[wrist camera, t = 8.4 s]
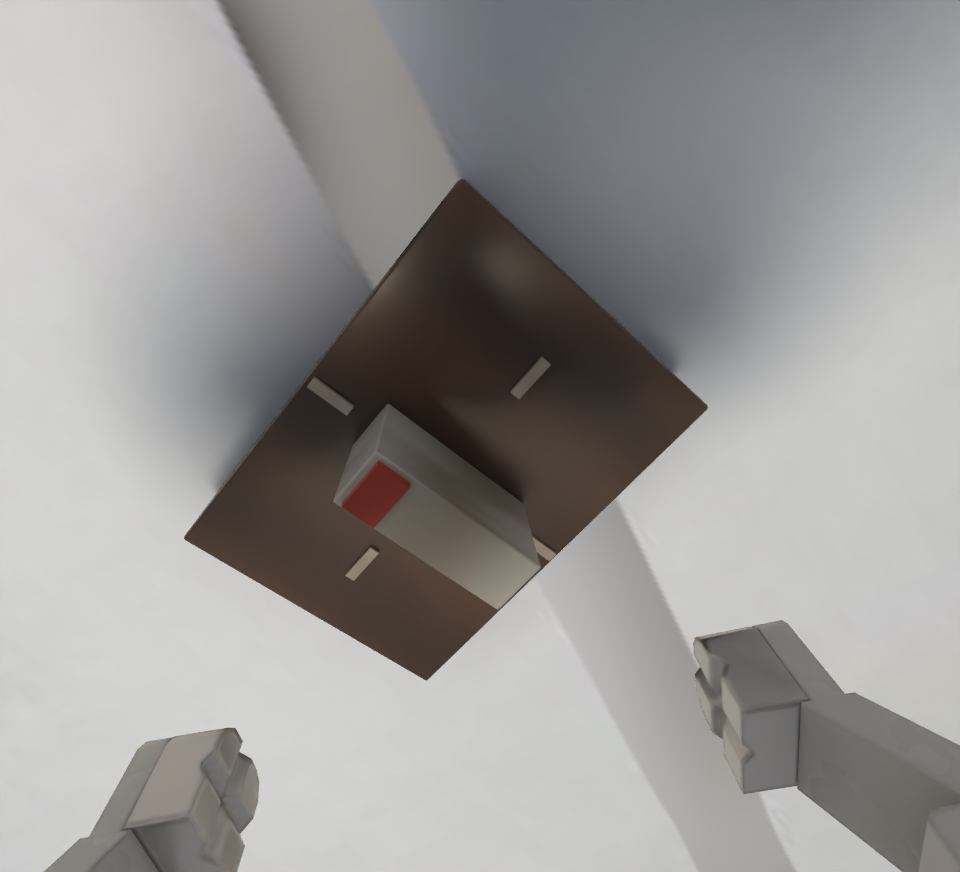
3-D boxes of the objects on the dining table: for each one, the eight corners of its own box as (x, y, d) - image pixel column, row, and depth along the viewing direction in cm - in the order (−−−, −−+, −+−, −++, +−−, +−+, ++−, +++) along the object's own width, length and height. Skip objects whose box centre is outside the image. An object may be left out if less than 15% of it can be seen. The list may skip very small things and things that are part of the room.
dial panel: (459, 179, 18) (462, 176, 15) (674, 379, 21) (712, 409, 18) (215, 494, 21) (179, 542, 18) (428, 626, 24) (426, 685, 21)
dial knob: (524, 503, 19) (543, 573, 15) (488, 541, 19) (498, 617, 16) (388, 402, 17) (374, 455, 14) (352, 445, 18) (330, 507, 14)
